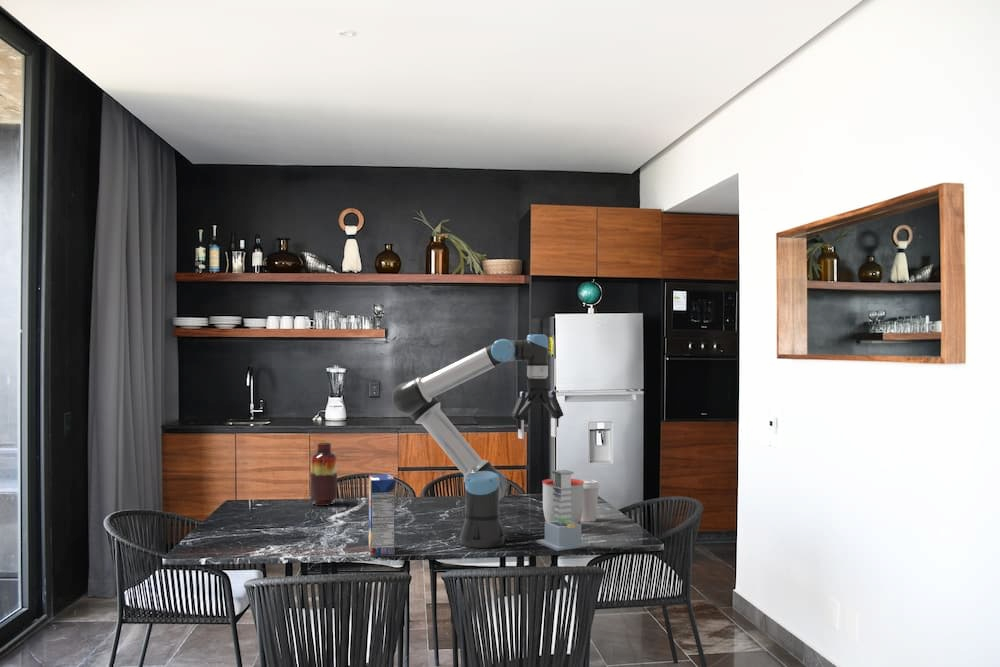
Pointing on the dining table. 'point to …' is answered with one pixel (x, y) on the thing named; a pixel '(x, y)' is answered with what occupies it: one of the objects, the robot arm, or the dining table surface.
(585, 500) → the coffee cup
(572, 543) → the stand base
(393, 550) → the juice carton
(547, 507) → the citrus juicer
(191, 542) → the dining table surface
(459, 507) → the dining table surface
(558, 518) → the column
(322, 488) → the vase
